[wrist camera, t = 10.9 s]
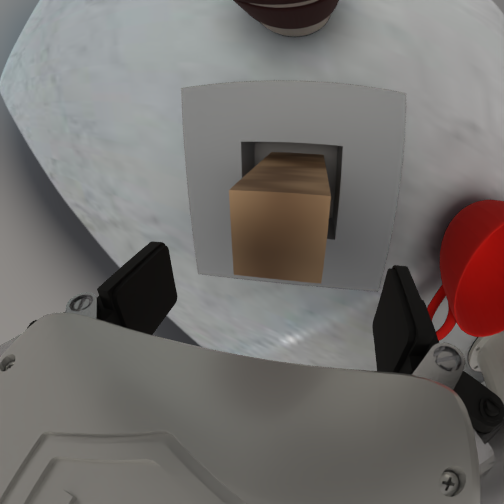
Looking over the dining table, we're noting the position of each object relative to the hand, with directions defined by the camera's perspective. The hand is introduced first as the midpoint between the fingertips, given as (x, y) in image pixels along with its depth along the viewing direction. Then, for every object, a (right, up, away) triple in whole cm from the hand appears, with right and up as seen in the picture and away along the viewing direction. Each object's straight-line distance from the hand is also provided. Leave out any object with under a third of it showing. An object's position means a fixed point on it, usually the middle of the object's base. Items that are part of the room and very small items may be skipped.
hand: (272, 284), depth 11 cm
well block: (+3, +9, +16) cm, 18 cm away
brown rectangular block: (+4, +9, +15) cm, 18 cm away
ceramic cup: (+23, +2, +15) cm, 27 cm away
